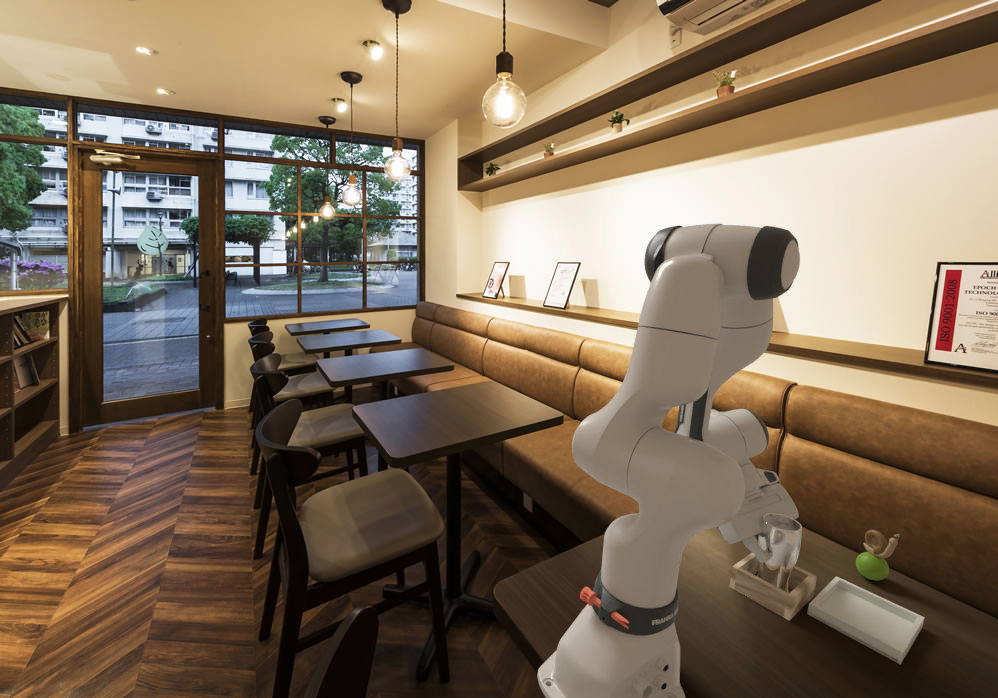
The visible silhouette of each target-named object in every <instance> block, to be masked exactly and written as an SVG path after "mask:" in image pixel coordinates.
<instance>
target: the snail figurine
mask: <svg viewBox="0 0 998 698" xmlns="http://www.w3.org/2000/svg"><path fill="white" fill-rule="evenodd" d="M893 536H894V537H890V538H888V541H887V538H886V537H885V536H884V534H883V533H881V532H880V531H879V530H876V529H868V530H867V531H866V532H865V534H864V539H865V542H863V547H864V548H865V550H866V551H864V552H861V553H859V554H858V556H857V557H856V559H855V567H856V569H857V571H858V572H859V574H861V575H862V576H863V577H864V578H866V579H867V580H871V581H877V582H879V581H882V580H884V579H886V578H887V577H888V575H889V573H890V568H889V567H890V566H889V564H888V562H887V560H885V559H887V558H889V557H890V556H891V555H892V554H893V553H894V551H895V549H896V547H897V546H898V544H899V543H898V542H899V541H898V540H899V538H900V537H901V534H899V533H896V534H893Z"/></svg>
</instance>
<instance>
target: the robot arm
mask: <svg viewBox="0 0 998 698" xmlns="http://www.w3.org/2000/svg"><path fill="white" fill-rule="evenodd" d="M800 265H801V255H800V248H799V242H798V239H797V238H796V236H794V234H792V232H791V231H790V230H788V229H785V228H782V227H777V226H770V225H763V226H762V227H760V226H759V227H758V226H750V225H738V224H737V225H736V224H735V225H734V224H723V223H706V224H695V225H694V224H693V225H688V226H687V225H686V226H682V225H674V226H669V227H665V228H662V229H659V230H658V231H657V232H656V233H655V235H654V236H652V238H651V239H650V240H649V242H648V243H647V247H646V250H645V254H644V270H645V274H646V276H647V279H648V281H649V282H650V284H649V286H648V290H647V292H646V295H645V298H644V301H643V304H642V309H641V311H640V316H639V320H638V324H637V329H636V332H635V333H636V335H635V338H634V343H633V346H632V350H631V355H630V359H629V363H628V366H627V371H626V373H625V376H624V379H623V381H622V382H621V385H620V386H619V388H618V390H617V391H616V393H615V394H614V396H613V397H612V398H611V399H610V400H609V401H608V403H606V405H605V406H603V407H602V408H601V409H599V410H598V411H595V412H594V413H591V414H590V415H588V416H586V417H585V418H584V419H583V420H582V421H581V422H580V423H579V425H578V426H577V427H576V430H575V431H574V434H573V437H572V442H571V451H572V453H571V454H572V457H573V461H574V463H575V464H576V465H577V466H578V467H579V468H580V469H581V470H582V471H584V472H585V473H586V474H587V475H589V476H590V477H591V478H593V479H594V480H595V481H596V482H598V483H599V484H602V485H604V486H606V487H609V488H610V489H613V490H615V491H617V492H619V493H621V494H624V495H626V496H628V497H630V498H631V499H633V500H634V501H636V502H637V503H638V513H630V514H625V515H621V516H619V517H617V518H615V520H613V521H612V522H611V523H610V524H609V526H608V527H607V529H606V530H605V532H604V534H603V535H604V536H603V547H602V548H603V549H602V558H601V559H602V560H601V569H600V570H599V571H598V575H597V577H596V579H595V582H594V587H593V588H592V589H591V588H590V587H588V586H584V587H583V588H582V589H581V591H580V592H579V593H580V594H579V598H580V600H582V601H583V602H585V603H587V604H586V605H585V607H584V608H583V609H582V610H581V611H580V613H579V614H578V616H577V617H576V618H575V620H574V621H573V622H572V624H571V625H570V626H569V628H568V629H567V630H566V631H565V633H564V634H563V635H562V637H561V638H560V640H559V642H558V644H557V648H556V649H555V651H554V652H553V653H552V654H551V655H550V656H549V657H548V658H547V659H546V660H545V661H544V662H543V663H542V665H540V667H539V668H538V670H537V682H538V684H539V688H540V690H541V692H542V694H543V695H544V697H545V698H686V695H685V692H684V690H683V687H682V686H681V685H682V684H681V683H680V678H681V677H680V673H681V646H680V645H681V644H680V641H679V637H678V634H677V633H678V632H677V629H676V625H675V621H676V618H677V616H678V615H677V614H678V611H679V603H680V600H679V590H678V587H677V586H678V579H679V578H678V577H679V572H680V567H681V566H680V565H681V562H682V556H683V555H684V551H685V548H686V546H687V544H688V543H689V542H690V540H692V539H693V538H694V537H695V536H697V535H698V534H700V533H702V532H704V531H708V530H711V529H716V528H718V529H719V531H720V533H721V536H722V538H723V539H724V541H726V542H727V543H728V544H730V545H733V544H737V543H739V542H741V541H742V543H743V545H744V547H745V548H747V549H748V550H749V551H750V553H754V554H755V556H756V557H757V559H758V561H759V562H760V563H763V562H766V561H768V560H770V559H771V557H770V555H769V554H768V552H767V550H763V549H762V548H761V547H760V546H759V545H758V538H757V537H756V535H759V533H761V532H763V526H762V518H763V515H764V514H767V513H777V514H782V515H785V516H788V517H790V518H793V519H794V520H796V519H798V518H799V510H798V508H797V505H796V504H795V502H794V501H793V499H792V497H791V496H790V494H789V493H788V490H786V488H785V487H784V486H783V485H782V484H780V483H778V482H780V477H779V476H778V474H777V472H775V471H771V470H766V469H760V468H759V467H758V468H756V467H755V465H754V464H753V462H752V461H751V460H750V459H751V458H753V457H756V456H758V455H760V454H762V453H763V452H764V451H766V450H767V448H768V446H769V442H770V433H769V430H768V428H767V425H766V424H765V422H764V421H763V420H762V418H761V417H760V416H759V415H758V414H756V413H755V412H754V411H752V410H751V409H750V410H749V409H747V408H744V407H743V408H737V409H732V410H731V409H730V410H727V411H718V410H716V409H713V407H712V406H713V401H714V398H715V395H716V394H717V392H718V390H719V389H720V388H721V387H722V386H723V385H724V384H725V383H726V382H727V381H728V380H730V379H731V378H732V377H733V376H735V375H736V374H737V373H739V372H741V370H744V369H745V368H746V367H748V366H750V365H752V364H753V363H755V362H756V361H757V360H758V359H759V358H760V357H762V356H763V355H764V354H765V352H766V351H767V349H768V347H769V345H770V342H771V339H772V336H773V329H774V328H773V327H774V299H778V298H779V297H781V296H782V295H784V294H785V293H787V292H788V291H789V290H790V289H791V287H792V285H793V283H794V280H795V279H796V277H797V275H798V274H799V273H798V272H799V269H800ZM676 407H677V408H678V411H677V420H676V425H675V428H674V430H673V431H670V430H667V429H664V428H663V424H664V420H665V419H666V416H667V415H668V413H669V412H670V410H672V409H673V408H676ZM765 520H766V521H767V522H768V523H769V524H771V525H772V526H775V527H776V526H778V525H780V523H779V521H778V520H777V519H775V518H774V517H771V516H766V517H765Z"/></svg>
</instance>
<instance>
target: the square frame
mask: <svg viewBox="0 0 998 698" xmlns="http://www.w3.org/2000/svg"><path fill="white" fill-rule="evenodd" d="M758 568H759V563H758V559H757V557H756V556H755V554H754V553H752V552H750V553H749V554H748V555H746V556H745V557H744V558H742V559H740V560H739V561H738V562H736V563H735V564H733V565H732V566H731V572H730V579H729V588H730V589H732V590H734V591H736V592H737V593H738V594H741V595H742V596H744V595H745V596H744V597H746V596H747V597H746V598H748V599H749V600H751V601H753V602H755V603H757V604H759V605H760V606H762V607H764V608H766V609H768V610H769V611H771V612H773V613H775V614H776V615H778V616H780V617H782V618H783V619H785V620H787V621H789V622H790V621H791V620H792V619H793V618H794V617H795V616H796V615H797V614H798V613H799V612H800V611H801V610H802V609H803V608H804V607H805V606H806V605H807V604H809V603H810V602H811V601H812V600H813V599H814V596H815V592H816V586H817V585H816V584H817V579H818V576H817V575H816V574H813V573H812V572H810V571H807V570H806V569H803V568H801V567H799V566H796V565H795V566H794V569H793V571H792V574H791V576H790V579H789V587H788V588H789V589H791V591H789V593H788V592H786V591H784V590H782V589H780V588H778V587H776V586H774V585H772V584H770V583H769V582H767V581H765V580H763V579H761V578H759V577H757V575H755V574H757V573H758Z"/></svg>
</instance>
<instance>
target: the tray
mask: <svg viewBox="0 0 998 698" xmlns="http://www.w3.org/2000/svg"><path fill="white" fill-rule="evenodd" d="M806 615H808V616H810V617H812V618H813V619H816V620H817V621H819V622H821V623H823V624H825V625H827V626H829V627H830V628H832V629H834V630H836V631H837V632H839V633H841V634H843V635H845V636H847V637H849V638H851V639H853V640H855V641H856V642H858V643H860V644H862V645H864V646H865V647H868V648H869V649H871V650H872V651H875V652H876V653H878V654H879V655H881V656H884V657H885V658H887V659H889V660H891V661H893V662H895V663H897V664H899V665H902V664H903V661H905V660H904V659H905V658H906V657H907V655H908V653H909V651H910V649H911V648H912V646H913V645H914V643H915V641H916V640H917V638H918V636H919V634H920V632H921V631H922V630H923V626H924V622H925V616H922V615H920V614H918V613H916V612H914V611H912V610H909V609H908V608H905V607H903V606H901V605H899V604H897V603H894V602H892V601H891V600H889V599H886V598H884V597H882V596H880V595H877V594H875V593H873V592H871V591H869V590H867V589H865V588H863V587H860V586H858V585H856V584H854V583H852V582H849V581H847V580H845V579H843V578H840V577H839V576H835V577H834V578H833V579H832V580H830V581H829V582H828V584H827V585H826V586H825V587H824V588H822V590H821V591H820V592H819V593H818V594H817V595H816V596H815V597H813V598H812V599H811V600H810V601H809V602H808V607H807V614H806Z"/></svg>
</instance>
